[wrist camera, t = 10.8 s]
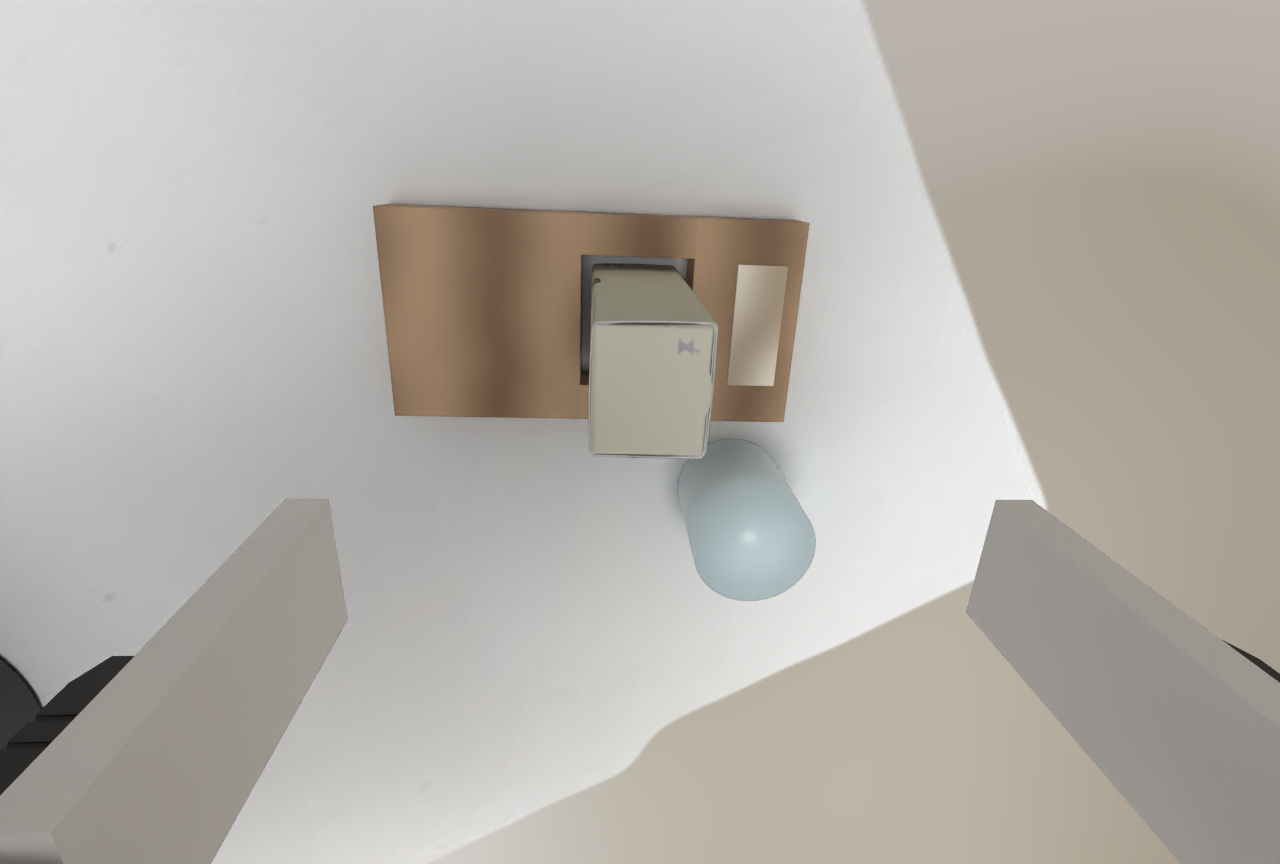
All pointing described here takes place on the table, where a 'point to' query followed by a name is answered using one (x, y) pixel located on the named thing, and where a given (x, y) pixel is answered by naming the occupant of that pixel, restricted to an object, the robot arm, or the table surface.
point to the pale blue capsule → (744, 522)
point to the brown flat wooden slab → (570, 304)
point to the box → (649, 364)
